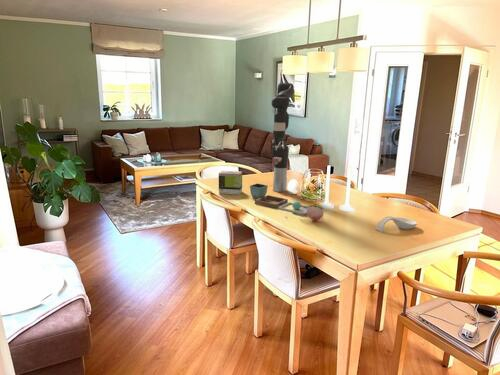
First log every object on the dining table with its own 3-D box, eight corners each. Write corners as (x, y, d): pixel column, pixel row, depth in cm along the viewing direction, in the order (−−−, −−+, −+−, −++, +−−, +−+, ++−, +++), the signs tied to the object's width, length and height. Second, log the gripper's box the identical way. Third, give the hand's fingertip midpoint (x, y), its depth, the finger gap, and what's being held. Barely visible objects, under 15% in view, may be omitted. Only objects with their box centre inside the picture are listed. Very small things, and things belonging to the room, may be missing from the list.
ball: (294, 207, 227) (295, 199, 225) (302, 209, 224) (302, 201, 222) (290, 209, 223) (291, 201, 221) (298, 211, 220) (298, 203, 218)
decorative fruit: (323, 219, 208) (325, 202, 206) (322, 224, 201) (323, 206, 198) (307, 217, 211) (308, 200, 208) (305, 222, 203) (306, 204, 201)
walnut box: (267, 199, 243) (268, 195, 243) (287, 204, 235) (287, 199, 234) (254, 205, 232) (254, 200, 231) (275, 209, 223) (275, 204, 222)
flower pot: (259, 201, 240) (260, 187, 238) (249, 198, 245) (249, 185, 243) (267, 198, 247) (268, 185, 245) (257, 196, 252) (257, 183, 250)
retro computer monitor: (242, 191, 262) (242, 171, 259) (239, 195, 253) (239, 174, 249) (221, 190, 265) (221, 169, 261) (218, 193, 255) (218, 172, 252)
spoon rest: (404, 222, 207) (405, 210, 205) (421, 229, 197) (423, 217, 195) (371, 228, 197) (372, 215, 196) (387, 235, 187) (389, 222, 185)
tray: (289, 204, 234) (289, 202, 233) (315, 210, 224) (315, 207, 223) (277, 210, 223) (277, 207, 222) (304, 216, 213) (304, 213, 212)
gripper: (280, 128, 238) (278, 153, 242) (267, 130, 226) (267, 156, 230) (290, 129, 233) (288, 154, 238) (278, 131, 222) (277, 157, 226)
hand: (278, 155), depth 234 cm, fingers open, 8 cm apart
